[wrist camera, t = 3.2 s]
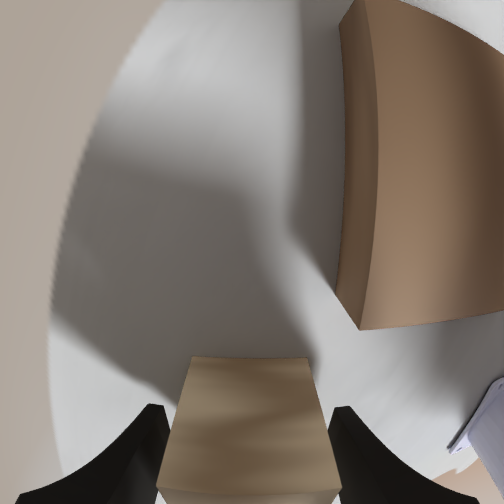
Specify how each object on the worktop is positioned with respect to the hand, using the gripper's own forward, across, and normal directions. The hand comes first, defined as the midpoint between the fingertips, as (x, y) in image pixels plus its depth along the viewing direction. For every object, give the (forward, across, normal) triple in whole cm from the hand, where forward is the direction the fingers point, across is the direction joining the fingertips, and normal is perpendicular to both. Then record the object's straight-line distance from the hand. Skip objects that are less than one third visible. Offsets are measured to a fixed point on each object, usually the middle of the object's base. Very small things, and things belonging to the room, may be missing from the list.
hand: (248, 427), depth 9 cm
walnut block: (+2, -8, -10) cm, 13 cm away
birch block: (+2, 0, 0) cm, 2 cm away
